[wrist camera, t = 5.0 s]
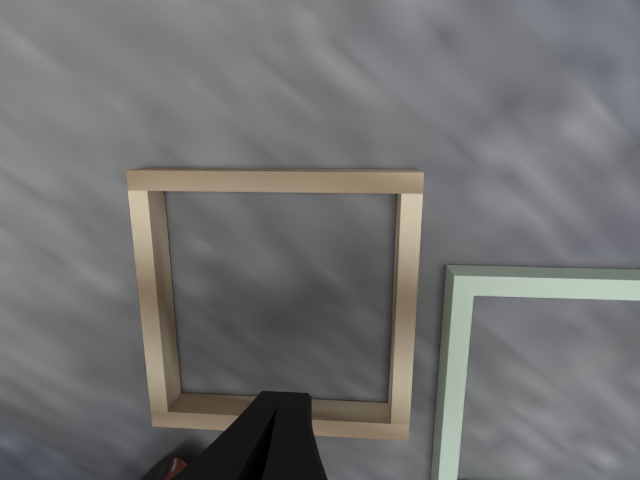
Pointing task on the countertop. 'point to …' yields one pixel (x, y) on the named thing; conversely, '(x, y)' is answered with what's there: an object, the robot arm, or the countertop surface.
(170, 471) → the supplement bottle
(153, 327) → the socket collar
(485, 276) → the square frame
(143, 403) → the countertop surface
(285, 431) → the robot arm
